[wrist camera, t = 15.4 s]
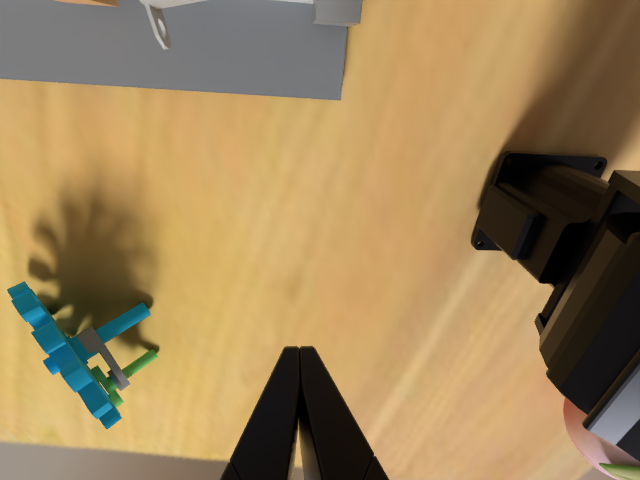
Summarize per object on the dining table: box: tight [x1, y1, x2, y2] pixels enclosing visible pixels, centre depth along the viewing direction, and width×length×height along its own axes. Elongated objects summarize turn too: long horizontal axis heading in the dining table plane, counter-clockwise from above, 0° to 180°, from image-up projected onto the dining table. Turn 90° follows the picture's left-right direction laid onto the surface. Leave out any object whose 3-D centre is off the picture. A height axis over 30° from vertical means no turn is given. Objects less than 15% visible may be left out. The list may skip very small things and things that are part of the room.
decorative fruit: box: [563, 397, 640, 480], centre depth 26 cm, size 9×8×10 cm
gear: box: [7, 282, 158, 429], centre depth 21 cm, size 11×6×10 cm
